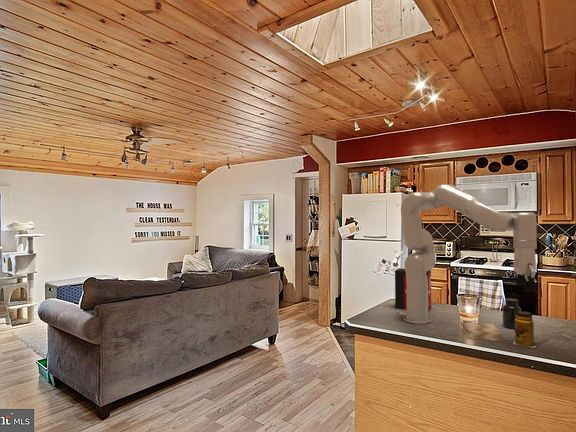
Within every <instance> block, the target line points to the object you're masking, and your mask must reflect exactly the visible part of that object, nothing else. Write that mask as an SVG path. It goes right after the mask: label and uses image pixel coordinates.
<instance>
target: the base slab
mask: <svg viewBox="0 0 576 432" xmlns="http://www.w3.org/2000/svg"><path fill="white" fill-rule="evenodd" d="M462 331H463V332H464V334H465V336H466V337H467V339H468V340H477V341H478V340H479V341H480V340H481V341H494V342H502V341H503V334H502V332H501V331H500V330H499V329H498V328H497V326H496V325H495V324H493V323H492V324H491V323H490V324H489V323H475V322H462Z"/></svg>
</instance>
